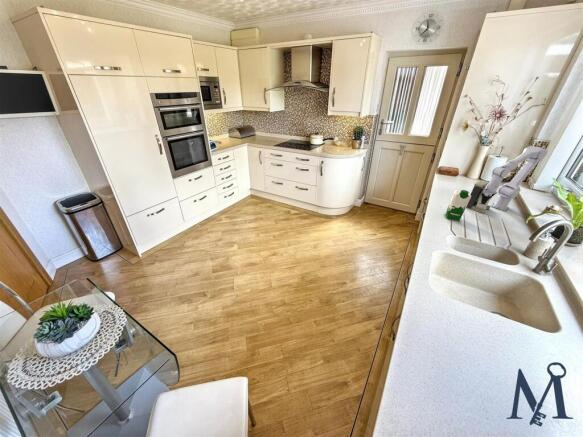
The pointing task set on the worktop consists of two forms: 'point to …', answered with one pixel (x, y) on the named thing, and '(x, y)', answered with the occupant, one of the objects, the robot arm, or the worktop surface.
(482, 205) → the syrup box
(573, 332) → the worktop surface
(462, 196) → the milk carton
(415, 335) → the worktop surface
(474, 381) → the worktop surface
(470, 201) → the grey block
